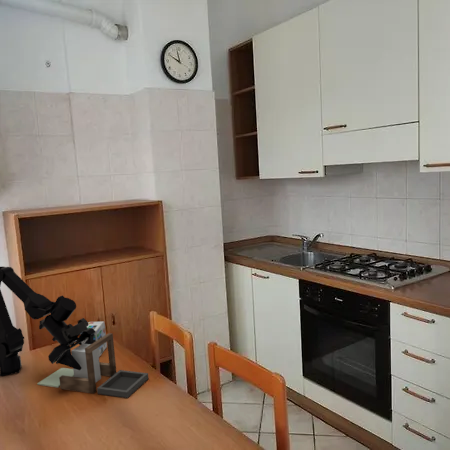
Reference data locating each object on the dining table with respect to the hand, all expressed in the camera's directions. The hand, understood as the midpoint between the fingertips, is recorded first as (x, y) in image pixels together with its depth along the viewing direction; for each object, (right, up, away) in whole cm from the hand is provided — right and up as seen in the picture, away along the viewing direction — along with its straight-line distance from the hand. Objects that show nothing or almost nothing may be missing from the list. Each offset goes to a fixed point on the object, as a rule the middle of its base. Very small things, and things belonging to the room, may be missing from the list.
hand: (89, 363), depth 151 cm
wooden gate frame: (-1, -7, +1) cm, 7 cm away
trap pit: (+12, -6, -3) cm, 14 cm away
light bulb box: (-6, -4, +26) cm, 27 cm away
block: (-1, -7, +1) cm, 7 cm away
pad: (-12, -7, +6) cm, 15 cm away
